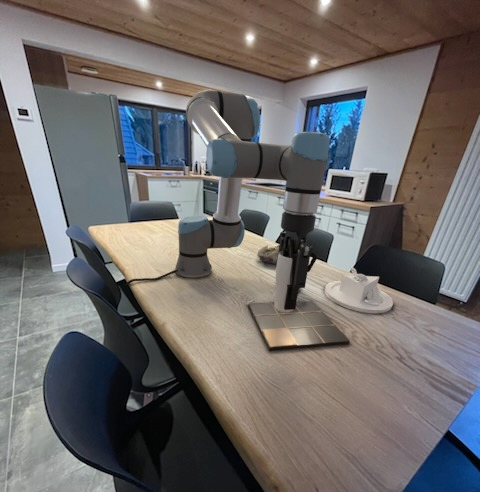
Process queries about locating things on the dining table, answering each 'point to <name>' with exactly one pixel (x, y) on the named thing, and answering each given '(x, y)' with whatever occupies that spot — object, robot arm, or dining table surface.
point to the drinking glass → (282, 281)
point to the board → (296, 326)
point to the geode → (268, 254)
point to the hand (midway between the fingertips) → (284, 302)
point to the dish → (359, 293)
